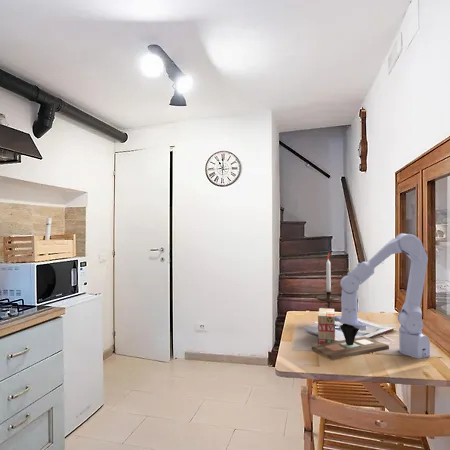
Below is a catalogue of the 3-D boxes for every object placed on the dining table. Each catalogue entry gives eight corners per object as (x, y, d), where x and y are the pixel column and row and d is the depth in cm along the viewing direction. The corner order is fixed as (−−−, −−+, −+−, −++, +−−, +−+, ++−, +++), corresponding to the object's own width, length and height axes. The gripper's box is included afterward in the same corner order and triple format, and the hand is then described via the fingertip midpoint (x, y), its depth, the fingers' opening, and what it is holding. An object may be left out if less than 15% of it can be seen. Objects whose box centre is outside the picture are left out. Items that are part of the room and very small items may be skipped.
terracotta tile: (345, 355, 132) (345, 348, 132) (334, 357, 130) (334, 350, 130) (335, 350, 136) (335, 344, 136) (325, 352, 135) (324, 346, 135)
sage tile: (360, 352, 135) (360, 345, 135) (349, 354, 133) (349, 347, 133) (350, 347, 139) (350, 341, 139) (340, 349, 137) (340, 343, 137)
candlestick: (344, 331, 161) (343, 252, 161) (320, 332, 161) (319, 253, 161) (337, 324, 172) (336, 251, 172) (314, 325, 172) (313, 251, 172)
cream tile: (374, 349, 137) (374, 342, 137) (364, 351, 135) (364, 344, 135) (364, 345, 142) (364, 339, 142) (354, 347, 140) (354, 340, 140)
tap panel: (388, 352, 135) (388, 345, 135) (332, 363, 125) (332, 356, 125) (364, 342, 147) (364, 336, 147) (311, 352, 136) (311, 345, 136)
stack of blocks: (320, 330, 162) (320, 303, 162) (335, 331, 160) (334, 303, 160) (318, 346, 142) (317, 314, 142) (334, 347, 140) (334, 315, 140)
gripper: (328, 305, 141) (328, 340, 141) (355, 313, 128) (355, 352, 128) (342, 303, 144) (342, 338, 144) (370, 311, 130) (370, 349, 130)
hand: (349, 344), depth 136 cm, fingers closed, pressing on sage tile
